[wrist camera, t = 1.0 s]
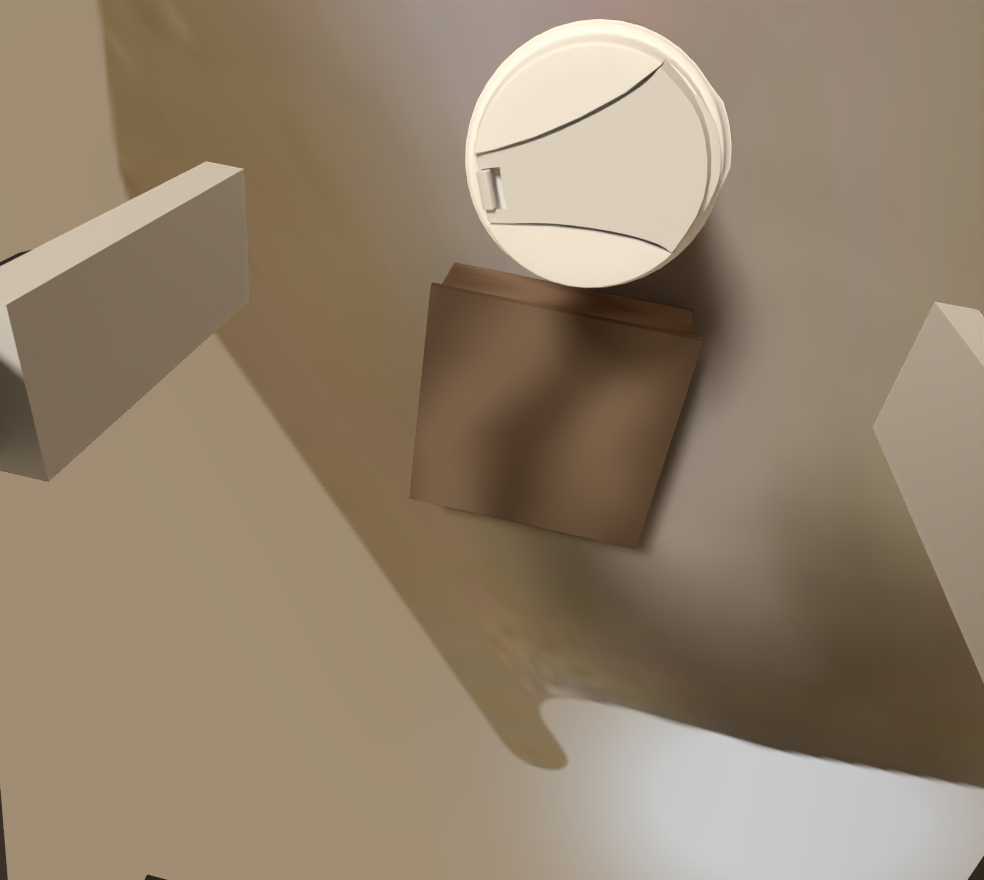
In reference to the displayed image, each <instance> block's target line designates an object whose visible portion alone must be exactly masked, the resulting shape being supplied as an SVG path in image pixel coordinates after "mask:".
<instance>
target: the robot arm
mask: <svg viewBox="0 0 984 880" xmlns="http://www.w3.org/2000/svg"><path fill="white" fill-rule="evenodd" d="M249 300H250V290H249V269H248V247H247V226H246V205H245V183H244V169H242V168H237V167H232V166H226V165H221V164H216V163H211V162H204V163H202V164H201V165H199V166H197V167H195V168H193V169H191V170H189V171H187V172H185V173H183V174H181V175H179V176H177V177H175V178H173V179H171V180H169V181H167V182H165V183H163V184H161V185H159V186H157V187H155V188H153V189H151V190H149V191H147V192H145V193H143V194H142V195H140V196H138V197H136V198H134V199H132V200H130V201H128V202H126V203H124V204H122V205H120V206H118V207H116V208H114V209H112V210H110V211H108V212H106V213H104V214H102V215H100V216H98V217H96V218H94V219H92V220H90V221H88V222H86V223H85V224H83V225H81V226H79V227H77V228H75V229H73V230H71V231H69V232H67V233H65V234H63V235H61V236H59V237H57V238H55V239H53V240H51V241H49V242H47V243H45V244H43V245H41V246H39V247H37V248H36V249H33V250H29V251H25V252H21V253H18V254H16V255H14V256H12V257H10V258H8V259H6V260H4V261H2V262H0V471H4V472H8V473H13V474H17V475H22V476H26V477H30V478H35V479H39V480H43V481H48V482H49V481H50V480H51V479H52V478H53V477H54V476H55V475H56V474H58V473H59V472H60V471H61V470H62V469H63V468H64V467H65V466H66V465H68V464H69V463H70V462H71V461H72V460H73V459H74V458H75V457H76V456H78V455H79V453H81V452H82V451H83V450H84V449H85V448H86V447H87V446H88V445H90V444H91V443H92V442H93V441H94V440H95V439H96V438H97V437H99V435H101V434H102V433H103V432H104V431H105V430H106V429H107V428H108V427H110V426H111V425H112V424H113V423H114V422H115V421H116V420H117V419H118V418H120V417H121V416H122V415H123V414H124V413H125V412H126V411H127V410H128V409H130V408H131V407H132V406H133V405H134V404H135V403H136V402H137V401H138V400H140V399H141V398H142V397H143V396H144V395H145V394H146V393H147V392H148V391H149V390H151V389H152V388H153V387H154V386H155V385H156V384H157V383H158V382H159V381H161V380H162V379H163V378H164V377H165V376H166V375H167V374H168V373H169V372H170V371H172V370H173V369H174V368H175V367H176V366H177V365H178V364H179V363H181V362H182V361H183V360H184V359H185V358H186V357H187V356H188V355H189V354H190V353H192V352H193V351H194V350H195V349H196V348H197V347H198V346H199V345H201V344H202V343H203V342H204V341H205V340H206V339H207V338H208V337H209V336H210V335H212V334H213V333H214V332H215V331H216V330H217V329H218V328H219V327H220V326H222V325H223V324H224V323H225V322H226V321H227V320H228V319H229V318H230V317H232V316H233V315H234V314H235V313H236V312H237V311H238V310H239V309H240V308H242V307H243V306H244V305H245V304H246V303H247V302H248V301H249ZM872 428H873V430H874V432H875V434H876V437H877V439H878V441H879V444H880V446H881V448H882V451H883V453H884V455H885V457H886V460H887V462H888V464H889V467H890V469H891V471H892V474H893V476H894V478H895V480H896V483H897V485H898V487H899V490H900V492H901V494H902V497H903V499H904V501H905V504H906V506H907V508H908V510H909V513H910V515H911V517H912V520H913V522H914V524H915V527H916V529H917V531H918V533H919V536H920V538H921V540H922V543H923V545H924V547H925V550H926V552H927V554H928V556H929V559H930V561H931V563H932V566H933V568H934V570H935V573H936V575H937V577H938V580H939V582H940V584H941V586H942V589H943V591H944V593H945V596H946V598H947V600H948V603H949V605H950V607H951V609H952V612H953V614H954V616H955V619H956V621H957V623H958V626H959V628H960V630H961V632H962V635H963V637H964V639H965V642H966V644H967V646H968V649H969V651H970V653H971V656H972V658H973V660H974V662H975V665H976V667H977V669H978V672H979V674H980V676H981V679H982V681H983V683H984V317H983V315H982V314H981V313H980V312H979V311H978V310H976V309H970V308H965V307H960V306H955V305H950V304H944V303H939V302H934V304H933V306H932V308H931V310H930V312H929V314H928V316H927V318H926V320H925V322H924V324H923V326H922V328H921V330H920V332H919V334H918V336H917V338H916V340H915V342H914V344H913V347H912V349H911V351H910V353H909V355H908V357H907V359H906V361H905V363H904V365H903V367H902V369H901V371H900V373H899V375H898V377H897V379H896V381H895V383H894V385H893V387H892V389H891V391H890V393H889V395H888V397H887V399H886V401H885V403H884V405H883V407H882V409H881V411H880V413H879V415H878V417H877V419H876V421H875V423H874V425H873V427H872ZM1 804H2V803H1V791H0V880H8V878H7V866H6V853H5V841H4V828H3V816H2V805H1ZM145 880H165V879H162V878H158V877H155V876H151V875H147V876H146V878H145ZM968 880H984V856H983V858H982V859H981V861H980V862H979V864H978V865H977V867H976V868H975V870H974V871H973V873H972V874H971V876H970V877H969V879H968Z"/></svg>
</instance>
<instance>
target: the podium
mask: <svg viewBox="0 0 984 880" xmlns="http://www.w3.org/2000/svg"><path fill="white" fill-rule="evenodd" d="M703 343H704V337H699V336H694V327H693V317H692V310H688V309H683V308H678V307H673V306H668V305H663V304H658V303H653V302H648V301H643V300H638V299H633V298H628V297H623V296H618V295H613V294H608V293H603V292H598V291H593V290H588V289H583V288H578V287H572V286H566V285H562V284H558V283H554V282H549V281H544V280H539V279H534V278H529V277H524V276H519V275H514V274H509V273H504V272H499V271H494V270H489V269H484V268H479V267H474V266H469V265H464V264H459V263H454V265H453V267H452V268H451V270H450V272H449V273H448V275H447V277H446V278H445V280H444V282H443V283H442V284H438V283H432V285H431V289H430V299H429V309H428V318H427V328H426V338H425V348H424V358H423V368H422V378H421V388H420V398H419V408H418V418H417V428H416V438H415V447H414V457H413V467H412V477H411V487H410V497H409V499H414V500H418V501H423V502H427V503H432V504H436V505H441V506H445V507H450V508H454V509H459V510H463V511H468V512H472V513H477V514H481V515H486V516H490V517H495V518H499V519H504V520H508V521H513V522H517V523H522V524H526V525H531V526H535V527H540V528H544V529H549V530H553V531H558V532H562V533H567V534H571V535H575V536H580V537H584V538H589V539H593V540H598V541H602V542H607V543H611V544H616V545H620V546H625V547H629V548H634V549H636V547H637V544H638V541H639V538H640V535H641V532H642V529H643V526H644V523H645V520H646V517H647V513H648V510H649V507H650V504H651V501H652V498H653V495H654V492H655V489H656V486H657V483H658V480H659V477H660V474H661V471H662V468H663V465H664V462H665V459H666V456H667V453H668V449H669V446H670V443H671V440H672V437H673V434H674V431H675V428H676V425H677V422H678V419H679V416H680V413H681V410H682V407H683V404H684V401H685V398H686V395H687V392H688V389H689V385H690V382H691V379H692V376H693V373H694V370H695V367H696V364H697V361H698V358H699V355H700V352H701V349H702V346H703Z"/></svg>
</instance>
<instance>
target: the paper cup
mask: <svg viewBox="0 0 984 880" xmlns="http://www.w3.org/2000/svg"><path fill="white" fill-rule="evenodd" d="M731 146H732V145H731V135H730V125H729V121H728V117H727V113H726V109H725V106H724V102H723V101H722V99H721V98H720V97H719V95H718V94H717V93H716V91H715V90H714V89H713V87H712V86H711V85H710V83H709V82H708V81H707V79H706V78H705V76H704V75H703V73H702V72H701V70H700V69H699V68H698V66H697V65H696V64H695V63H694V62H693V60H692V59H691V58H690V57H689V56H688V55H687V54H686V53H685V52H684V51H683V50H682V49H681V48H679V47H678V46H676V45H675V44H674V43H672V42H671V41H669V40H668V39H666V38H665V37H664V36H662V35H660V34H658V33H656V32H653V31H651V30H649V29H647V28H645V27H643V26H639V25H636V24H633V23H629V22H624V21H618V20H605V19H594V20H584V21H575V22H572V23H568V24H565V25H561V26H558V27H554V28H552V29H550V30H548V31H546V32H544V33H542V34H540V35H537V36H535V37H534V38H532V39H531V40H529V41H528V42H527V43H525V44H524V45H522V46H521V47H519V48H518V49H517V50H515V51H514V52H513V53H512V54H511V55H510V56H509V57H508V58H507V59H506V60H505V61H504V62H503V63H502V64H501V65H500V66H499V68H498V69H497V70H496V72H495V73H494V74H493V76H492V77H491V78H490V80H489V81H488V82H487V84H486V86H485V88H484V90H483V91H482V93H481V95H480V97H479V99H478V101H477V103H476V106H475V109H474V112H473V115H472V118H471V121H470V124H469V130H468V135H467V141H466V161H465V164H466V173H467V181H468V186H469V190H470V194H471V197H472V201H473V204H474V206H475V209H476V211H477V213H478V216H479V218H480V220H481V222H482V223H483V225H484V227H485V228H486V230H487V231H488V233H489V235H490V236H491V238H492V239H493V240H494V241H495V242H496V243H497V245H498V246H499V247H500V248H501V249H502V250H503V251H504V252H505V253H506V254H507V255H508V256H509V257H510V258H512V259H513V260H514V261H515V262H516V263H517V264H519V265H521V266H522V267H524V268H525V269H527V270H528V271H530V272H532V273H533V274H535V275H537V276H539V277H542V278H544V279H546V280H549V281H551V282H555V283H558V284H562V285H566V286H572V287H580V288H600V287H610V286H615V285H621V284H625V283H628V282H631V281H634V280H637V279H640V278H643V277H645V276H647V275H649V274H651V273H653V272H654V271H656V270H658V269H660V268H662V267H663V266H664V265H666V264H667V263H669V262H670V261H671V260H673V259H674V258H676V257H677V256H678V255H679V254H680V253H681V252H682V251H683V250H684V249H685V248H686V247H687V246H688V245H689V244H690V243H691V242H692V241H693V239H694V238H695V237H696V235H697V234H698V233H699V232H700V230H701V229H702V228H703V226H704V224H705V223H706V221H707V219H708V217H709V216H710V214H711V212H712V210H713V208H714V206H715V203H716V200H717V198H718V195H719V192H720V190H721V187H722V185H723V183H724V180H725V178H726V176H727V174H728V171H729V169H730V163H731Z"/></svg>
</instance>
